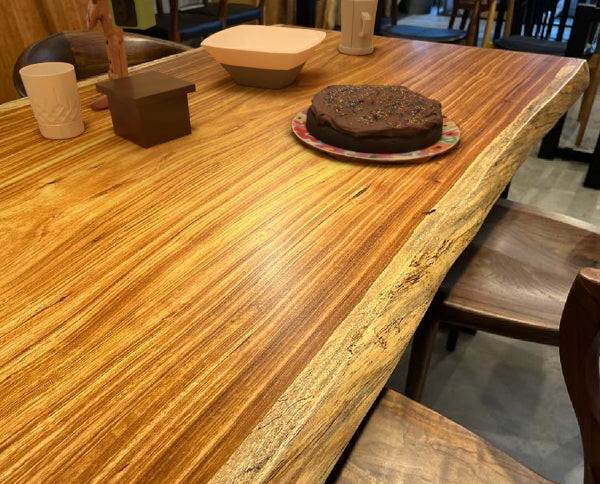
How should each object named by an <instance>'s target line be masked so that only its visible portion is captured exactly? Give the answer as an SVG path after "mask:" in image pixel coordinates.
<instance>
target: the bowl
mask: <svg viewBox="0 0 600 484" xmlns="http://www.w3.org/2000/svg"><path fill="white" fill-rule="evenodd" d="M326 36H327V32H326V31H321V30H314V29H308V28H295V27H287V26H286V27H285V26H273V25H263V24H262V25H260V24H259V25H258V24H257V25H256V24H240V25H236V26H232V27H228V28H226V29H223V30H220V31H216V32H215V33H213V34H211V35H209V36H207V37H206V38H205V39H203V40H202V42H201V43H200V44H199V45H200V46H201V48H203V50H205V52H206V53H208V54H209V55H210V56H211V57H212V58H213V59H214V60H215V61H216V62H217V63H219V64H220V65H221V66H222V67H223V69H224V70H225V71H226V72H227V73H228V75H229V76H230V77H231V79H233V81H234V82H235V83H236V84H237V85H240V86H245V87H250V88H251V87H252V88H259V89H260V88H261V89H272V90H273V89H274V90H281V89H284V88H286V87H288V86H289V85H291V84H292V83H294V82H295V80H296V79H297V77H298V76H299V74H301V73H300V72H301V71H302V69H303V68H304V67H305V65H306V63H307V62H308V60H309V59H310V58H311V56H312V55H313V54H314V53H315V52H316V50H317V49H318V48H319V47H320V45H321V44H322V43H323V42H324V41H325V39H326Z"/></svg>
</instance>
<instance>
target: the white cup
mask: <svg viewBox="0 0 600 484" xmlns="http://www.w3.org/2000/svg"><path fill="white" fill-rule="evenodd" d="M18 73H19V75H20V79H21V81H22V84H23V87H24V90H25V93H26V96H27V99H28V101H29V105H30V107H31V109H32V114H33V116H34V117H35V119H36V122H37V125H38V129H39V132H40V134H41V136H42V137H44V138H45V139H50V140H65V139H72V138H75V137H77V136H80V135H82V134H84V133H85V122H84V119H83V109H82V103H81V97H80V92H79V85H78V81H77V76H76V70H75V67H74V65H73V64H71V63H68V62H62V61H61V62H60V61H53V62H51V61H50V62H39V63H34V64H29V65H26V66H24V67H22V68H20V69H19V71H18Z"/></svg>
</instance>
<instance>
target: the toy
mask: <svg viewBox="0 0 600 484" xmlns="http://www.w3.org/2000/svg"><path fill="white" fill-rule="evenodd" d="M108 2H109V7H110V13H111V18H112V24H113V27H114V28H122V29H132V30H144V31H145V30H147V29H149V28H152V27H154V26H156V25H157V21H156V14H155V13H156V12H155V6H154V0H134V4H135V10H136V17H137V23H138V25H137V26H136V27H121V26H116V24H115V20H114V14H113V9H112V3H111V0H108Z"/></svg>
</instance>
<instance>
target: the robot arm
mask: <svg viewBox="0 0 600 484" xmlns="http://www.w3.org/2000/svg"><path fill="white" fill-rule="evenodd" d="M111 3H112V9H113V14H114V20H115V24H116V26H121V27H136V26H137V25H138V23H137V17H136V10H135V4H134V0H111Z"/></svg>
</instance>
